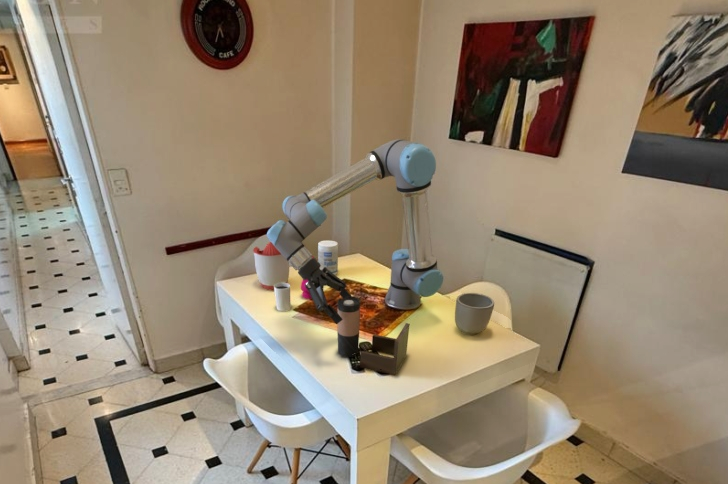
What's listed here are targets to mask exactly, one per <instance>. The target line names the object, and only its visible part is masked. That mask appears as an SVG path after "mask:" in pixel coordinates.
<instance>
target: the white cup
mask: <svg viewBox="0 0 728 484" xmlns="http://www.w3.org/2000/svg"><path fill="white" fill-rule="evenodd" d="M273 291H274V296H275V305H276V310H277V311H278V312H287V311H290V310H291V303H292V302H291V285H290V283H288V282H287V283H277V284H275V285H274V290H273Z"/></svg>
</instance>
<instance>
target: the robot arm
mask: <svg viewBox="0 0 728 484" xmlns="http://www.w3.org/2000/svg"><path fill="white" fill-rule="evenodd" d="M436 170H437V161H436V157H435V154H434V153H433V151H432V150H431V149H430V148H429V147H427V146H426V145H424V144H422V143H419V142H413V141H409V140H407V139H403V138H399V139H393V140H390V141H388V142H386V143H384V144H381V145H380V146H377V148H374V149H373V150H371V151H369V152H367V153H366V157H365V158H363V159H361V160H360V161H358V162H356V163H354V164H353V165H351V166H348V167H347V168H345V169H343V170H341V171H340V172H338V173H336V174H334V175H333V176H331V177H329V178H327V179H325V180H324V181H322V182H320V183H318V184H316V185H314V186H313V187H310V188H309V189H308V190H305V191H304V192H302V193H300V194H298V195H292V194H291V195H288V196H287V197H285V198H284V200H283V202H282V212H283V213H284V216H286V217H287V219H289V220H288V221H287V222H286V221H284V220H283V219H280V220H277V221H276V223H273V225H272V226H271V227H270V228H269V229H268V230H267V232H266V237H267V239H268V240H269V242H272V244H273V245H274V246H275V247H276V249H277V250H278V251H279V252H280V253H281V254H282V255H283V256H284V258H285V259H286V260H287V261H288V262H289V265H290V266H291V267H292V268H293V269H294V270H295V271H297V273H298V275H299V277H300V278H301V279H302V281H303V280H306V279H307V280H308V282H307V283H306V284H305V287H306V288H307V290H308V291H309V293H310V295H311V297H312V299H311V300H312V302H313V304H314V306H315V308H316V310H317V311H320V312H322V311H324V313H326V314H327V316H328V317H329V318H330V319H331V320H332V321H333V322H334V324H336V325H337V324H338V323H339V322H340V321H342V320H343V319H342V318H341V317H340V315H339V314H338V311H337V310H336V309H335V308H334V307H333V306H332V305H331V304H330V303H329V304H328V301H327V297H326V294H325V290H324V287H325V286H326V287H329V288H331V289H333V290H335V291H337V292H339V293H338V294H339V296H340V297H341V299H344V298H345V297H347V296H351V297H353V296H352V295H351V294H350V293H349V291H348V290H347V288H346V287H347V283H346V282H345V280H343V279H341V278H340V277H338V276H337V274H336V275H334V274H333V273H331V272H330V271H329V270H328V269H327V268H326V267H324V268H323V269H322V270H320V267H321V265H320V263H319V262H318V259H316V257H314V258H312V256H313V254H312V252H311V251H310V250H309V249H308V248H307V247H306V246H305V244H304V243H303V242H304V241H305V239H307V238H308V236H310V235H311V234H312V233H313V232H315V231H316V230H317V229H318V228H319V227H320V226H322V224H323V223H324V222H325V221H326V220H327V219H328V216H327V215H328V214H327V213H326V211H325V210H324V208H326V207H328V206H329V205H331V204H333V203H335V202H337V201H339V200H340V199H342V198H345V197H346V196H348V195H350V194H351V193H354V192H355V191H356V190H359V189H360V188H362V187H364V186H365V185H368V184H370V183H372V182H373V181H375V180H376V181H381V180H383V179H385V178H389V177H394V178H395V186H396V187H395V188H396V191H397V192H398V193H399V194H400V195H401V198H402V199H401V200H402V208H403V214H404V215H403V217H404V224H405V232H406V233H405V234H406V242H407V248H400V249H396V250H395V251H393V253H392V256H391V267H390V268H391V269H390V284H389V287H388V290H387V292H386V295H385V296H384V297H385V298H384V304H385V306H386V307H388V308H390V309H392V310H395V311H402V312H408V311H409V312H410V311H414V310H417V309H419V307H421V302H422V301H421V297H422V298H429V297H432V296H434V295H435V294H437V292H439V290H440V289H441V288H442V286H443V283H444V274H443V273H442V271H441V270H439V268H438V261H437V260H438V259H437V256H436V255H434V254H433V249H432V248H433V247H432V236H431V235H432V234H431V224H430V210H429V199H428V190H429V189H430V187H431V186H432V179H433V176H434V175H435V173H436Z"/></svg>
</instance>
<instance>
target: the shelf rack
mask: <svg viewBox="0 0 728 484" xmlns="http://www.w3.org/2000/svg"><path fill="white" fill-rule="evenodd" d="M410 326H411V323H408V322H405V324H404V325H403V327H402V329H401V330H400V332H399V333H398V335H397V337H396V338H394V337H390V336H385V335H379V334H373V335H372V338H371V339H372V340H371V351H372V352H369V351H365V350H361V352H360V361H359V368H360V369H365V370H370V371H373V372H374V371H375V372H378V373H382V374H386V375H391V376H397V374H398V372H399V370H400V368H401V366H402V365H403V363H404V361H405V359H406V357H407V353H408V343H409V333H410ZM375 352H379V353H382V354H387V355H382V354H379V353H375ZM388 355H392V356H388ZM380 369H382V370H380Z"/></svg>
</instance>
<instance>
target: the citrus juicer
mask: <svg viewBox="0 0 728 484" xmlns="http://www.w3.org/2000/svg"><path fill="white" fill-rule="evenodd" d="M252 252H253V257H254V265H255V266H254V267H255V271H256V276H257V279H258V282H259V284H260V286H261V287H262V288H263V289H266V290H270V291H274V285H275V284H277V283H288V282H289V277H290V263H289V262H288V261H287V260H286V259H285V258H284V256H283V255H282V254H281V253H280V252H279V251H278V250H277V249H276V247H275V246H274V245H273V244H272V242H271V241H269V242H268V243H266V246H265V247H264V248H263V249H262V250H260V247H258V246H255V247H254V248H253V249H252Z"/></svg>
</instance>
